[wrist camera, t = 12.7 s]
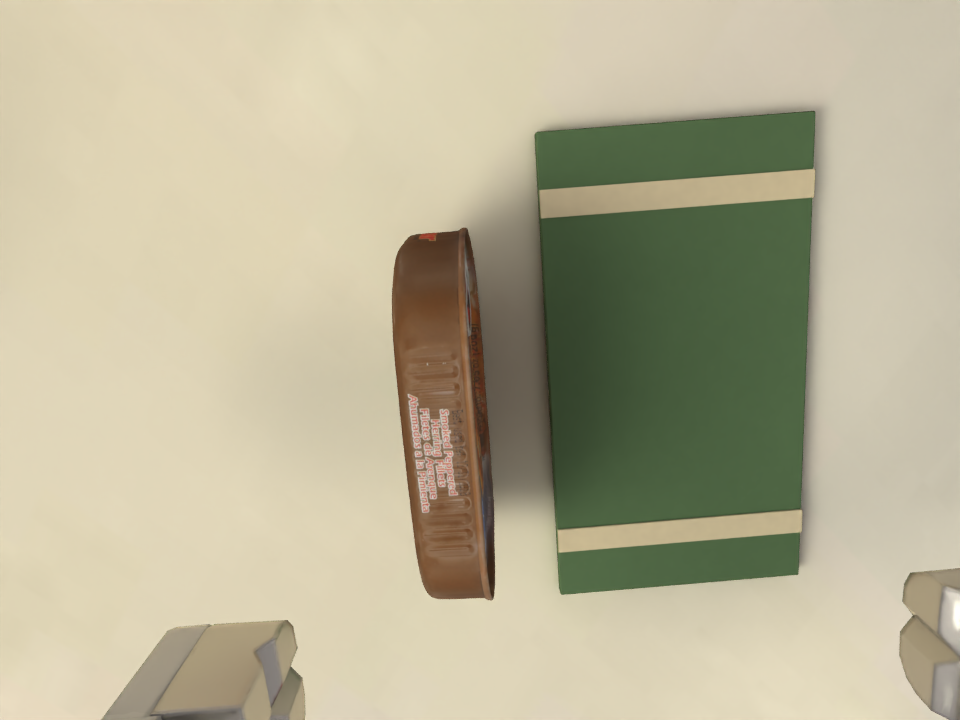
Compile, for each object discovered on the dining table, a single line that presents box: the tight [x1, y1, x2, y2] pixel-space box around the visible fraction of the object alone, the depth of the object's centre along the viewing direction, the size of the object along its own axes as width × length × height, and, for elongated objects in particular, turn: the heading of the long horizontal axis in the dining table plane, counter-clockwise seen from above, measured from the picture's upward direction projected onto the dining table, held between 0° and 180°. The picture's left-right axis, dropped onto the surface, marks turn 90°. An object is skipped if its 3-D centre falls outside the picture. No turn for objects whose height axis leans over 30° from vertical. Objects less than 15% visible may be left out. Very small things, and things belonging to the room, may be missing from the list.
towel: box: [535, 111, 815, 595], centre depth 29 cm, size 12×22×1 cm, turn 4°
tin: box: [392, 228, 495, 600], centre depth 25 cm, size 15×3×8 cm, turn 4°
